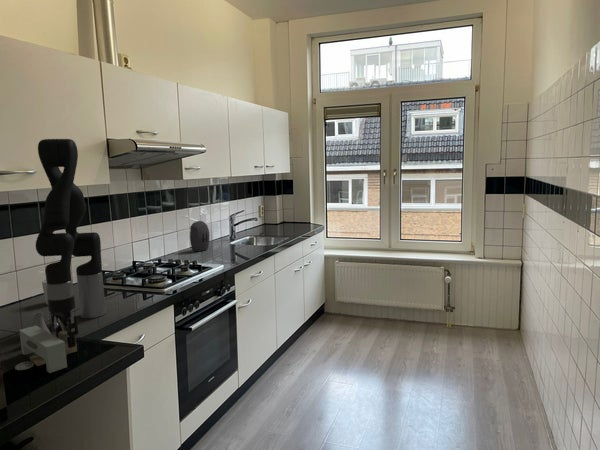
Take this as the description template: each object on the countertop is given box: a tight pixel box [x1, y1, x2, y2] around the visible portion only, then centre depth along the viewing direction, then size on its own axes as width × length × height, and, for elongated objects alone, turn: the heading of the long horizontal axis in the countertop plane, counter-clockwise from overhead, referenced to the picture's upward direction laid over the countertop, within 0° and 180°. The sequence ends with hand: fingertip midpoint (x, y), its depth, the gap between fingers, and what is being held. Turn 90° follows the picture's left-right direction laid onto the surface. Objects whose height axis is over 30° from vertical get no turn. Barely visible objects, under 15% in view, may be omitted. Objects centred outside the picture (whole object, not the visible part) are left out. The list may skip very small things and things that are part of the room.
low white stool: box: [18, 325, 68, 374], centre depth 144 cm, size 22×6×8 cm, turn 49°
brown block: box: [29, 330, 78, 367], centre depth 146 cm, size 6×12×7 cm, turn 139°
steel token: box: [14, 360, 35, 371], centre depth 140 cm, size 5×5×1 cm
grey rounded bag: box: [189, 220, 211, 252], centre depth 304 cm, size 15×8×20 cm, turn 150°
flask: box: [32, 311, 52, 334], centre depth 159 cm, size 7×7×10 cm
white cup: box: [41, 279, 48, 306], centre depth 202 cm, size 8×8×10 cm
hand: (66, 343), depth 149 cm, fingers open, 8 cm apart
